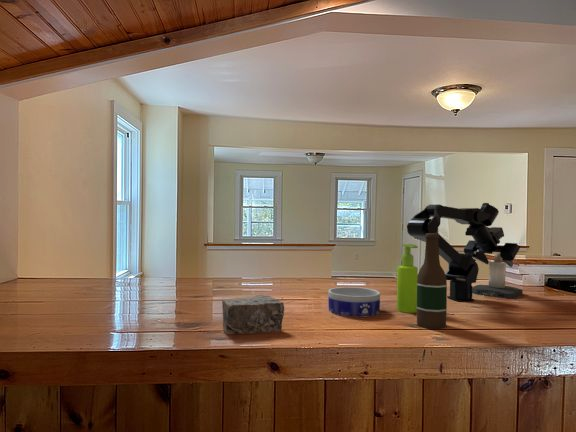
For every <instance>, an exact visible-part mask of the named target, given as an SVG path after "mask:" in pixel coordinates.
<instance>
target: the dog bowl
mask: <svg viewBox="0 0 576 432" xmlns="http://www.w3.org/2000/svg"><path fill="white" fill-rule="evenodd" d="M327 293H328V312H330V311H331V312H332V314H334V313H335V314H334V315H337V314H339V315H338V316H341V315H345V316H344V317H349V316H359V317H358V318H365V317H364V316H369V317H374V316H377V315H379V314H380V310H381V309H380V308H381V307H380V306H381V293H380V291H379V290H376V289H373V288H367V287H360V286H359V287H358V286H342V287H333V288H330V289H328V292H327ZM331 312H330V313H331ZM378 313H379V314H378ZM376 314H377V315H376ZM373 315H374V316H373ZM360 316H361V317H360ZM362 316H363V317H362Z"/></svg>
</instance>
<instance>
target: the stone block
mask: <svg viewBox="0 0 576 432" xmlns="http://www.w3.org/2000/svg"><path fill="white" fill-rule="evenodd" d="M221 301H222V328H223V333H225V335H235V334H236V335H247V334H248V335H252V334H256V332H257V333H264V332H265V333H272V332H271V331H275V332H280V331H282V326H283V325H282V323H283V319H284V316H285V303H284V302H283V301H280V300H279V299H277V298H274V297H272V296H270V295H268V294H257V295H254V296H246V297H233V298H223V299H221Z"/></svg>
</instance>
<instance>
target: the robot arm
mask: <svg viewBox="0 0 576 432" xmlns="http://www.w3.org/2000/svg"><path fill="white" fill-rule="evenodd" d="M499 213H500V210H499V209H498V208H496V207H495V206H494V205H491V204H490V203H489V202H483V203H482V205H481V206H480V208H479V207H464V208H463V207H461V208H459V207H453V206H452V207H451V206H446V205H442V204H428V205H426V206H425V208H423V209H422V210H421V211H419V212H418V213H416V214H415V215H414V216H413V217H412V218H411V219H410V220H408V223H407V225H406V232H407V234H408V235H409V236H410V237H412V238H414V239H416V240H419V241H421V242H424V243H426V238H425V235H426V234H427V233H437V234H439V237H440V238H439V239H438V244H439V257H441V258H442V259H443V260H445V262H447V264H448V268H447V271H445V275H446V280H447V281H449V295H447V298H448V299H450V300H453V301H456V302H472V301H475V298H473V287H474V286H473V285H472V284H475V283H477V281H478V275H479V270H480V269H479V265H478V263H477V262H476V261H479V262H481V263H483V264H485V265H489V263H490V261H489V259H488V258H487V255H486V254H488V255H489V254H491V255H492V254H493V252H494V253H500V256H501V258H502V260H501V261H502V262H504V263H506V266H508V267H509V268H513V265H514V260H515V258H516V256H517V255H518V253H519V251H520V248H521V247H520V246H519V245H518V243H516V242H505V243H504V245H499V244H500V243H501V241H500V240H501V239H502V238H503V237H505V233H504V230H503V227H500V226H499V227H498V226H497V227H496V226H493V227H492V225H493V223H494V222H495V220H496V218H497V217H498V215H499ZM441 219H448V220H454V221H455V223H457V224H458V223H459V224H461V225H468V226H467V227H466V231H465V236H470V237H472V238H473V239H472V240H468V242H466V245H465V246H464V248H463V253H461V252H459V251H457V249H455V248H454V247H453V246H452V245H451V244H450V243H449V242H448V241H447V240H446V239H445V238H444V237H443V236H442V235H441V234H440V233H439V227H440V226H441ZM490 226H491V227H490Z"/></svg>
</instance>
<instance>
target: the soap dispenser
mask: <svg viewBox="0 0 576 432" xmlns="http://www.w3.org/2000/svg"><path fill="white" fill-rule="evenodd" d="M402 247H404V253H403V254H402V255H401V265H398V266H397V267H396V268H397V269H396V272H397V275H396V280H397V281H396V310H397V311H398V312H400V313H408V314H409V313H411V314H412V313H413V314H414V313H417V277H418V273H419V269H418V268H419V267H417V266H415V265H414V255H413V254H411V250H412V249H418V246H417V245H416V244H413V243H408V244H406V243H404V244H403V243H402Z"/></svg>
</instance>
